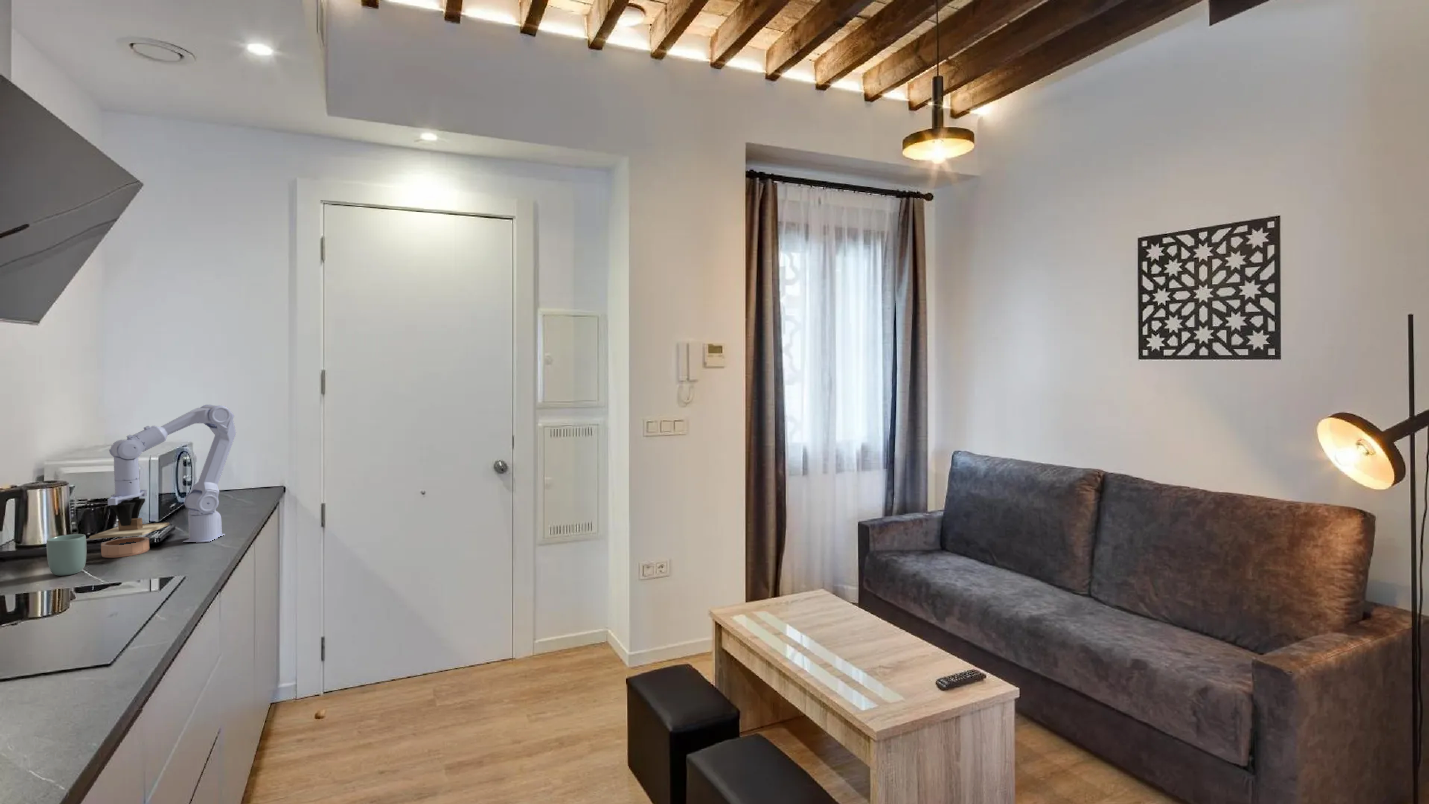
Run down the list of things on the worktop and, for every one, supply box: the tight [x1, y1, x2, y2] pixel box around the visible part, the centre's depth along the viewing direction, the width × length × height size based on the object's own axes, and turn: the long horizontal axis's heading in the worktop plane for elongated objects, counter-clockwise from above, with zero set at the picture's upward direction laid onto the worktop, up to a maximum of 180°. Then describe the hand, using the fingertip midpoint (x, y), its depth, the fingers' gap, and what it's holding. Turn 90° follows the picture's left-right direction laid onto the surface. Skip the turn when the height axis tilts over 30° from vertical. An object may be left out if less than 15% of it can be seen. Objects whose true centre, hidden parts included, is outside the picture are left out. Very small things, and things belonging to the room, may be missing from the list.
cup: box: [46, 533, 88, 577], centre depth 187 cm, size 8×8×10 cm
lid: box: [88, 517, 171, 540], centre depth 207 cm, size 14×14×4 cm
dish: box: [100, 536, 150, 559], centre depth 208 cm, size 11×11×4 cm
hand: (129, 524), depth 207 cm, fingers closed on lid, 2 cm apart
